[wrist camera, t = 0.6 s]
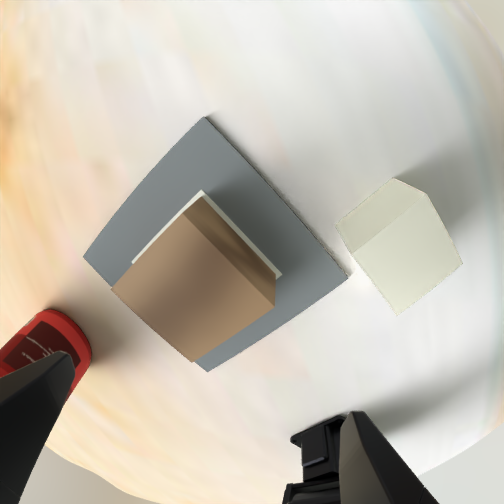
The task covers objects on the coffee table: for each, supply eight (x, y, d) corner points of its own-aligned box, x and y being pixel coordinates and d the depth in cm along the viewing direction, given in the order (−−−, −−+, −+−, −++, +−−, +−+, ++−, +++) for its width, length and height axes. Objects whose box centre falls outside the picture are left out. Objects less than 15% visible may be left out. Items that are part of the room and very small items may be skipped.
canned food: (44, 353, 27) (-5, 416, 17) (31, 296, 24) (-37, 360, 14) (98, 377, 27) (53, 454, 17) (89, 320, 24) (22, 403, 14)
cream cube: (428, 234, 19) (462, 263, 14) (374, 276, 20) (396, 316, 16) (392, 177, 17) (426, 193, 13) (334, 224, 19) (350, 254, 14)
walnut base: (275, 274, 20) (274, 306, 16) (204, 327, 22) (191, 362, 19) (201, 196, 18) (182, 213, 15) (136, 262, 21) (110, 289, 17)
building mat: (347, 275, 20) (348, 278, 20) (208, 369, 25) (207, 372, 24) (204, 116, 17) (202, 116, 17) (85, 254, 21) (82, 257, 21)
